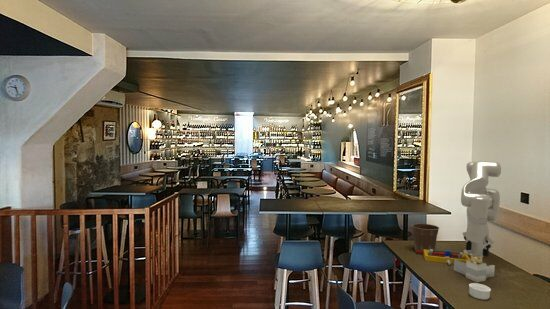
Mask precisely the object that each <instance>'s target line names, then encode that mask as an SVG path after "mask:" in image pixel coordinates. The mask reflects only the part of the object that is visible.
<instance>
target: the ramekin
mask: <svg viewBox="0 0 550 309" xmlns="http://www.w3.org/2000/svg"><path fill="white" fill-rule="evenodd" d="M468 287H469V292H468V293H469V295H470V296H471V297H472V298H474V299H477V300H486V301H487V300H488V299H489V298H490V295H491V291H492V289H491V288H490V287H489V286H487V285H485V284H481V283H478V282H473V283H469V284H468Z"/></svg>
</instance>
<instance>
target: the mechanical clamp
mask: <svg viewBox="0 0 550 309" xmlns="http://www.w3.org/2000/svg"><path fill="white" fill-rule="evenodd" d="M433 251H434V252H433ZM415 253H416V254H422V256H423V258H424V260H425V261H426V262H433V263H442V264H443V263H444V264H448V265H449V266H450V265H454V260H458V261H460V262H463V263H466V261H469V260H471V257H470V256H469V255H467V254H464V253H463V252H462V251H461V252H454V251H450V250H448V249H445V250H436V249H435V250H433V249H430V251H429V250H426V249H423V251H418V250H416V251H415Z"/></svg>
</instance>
